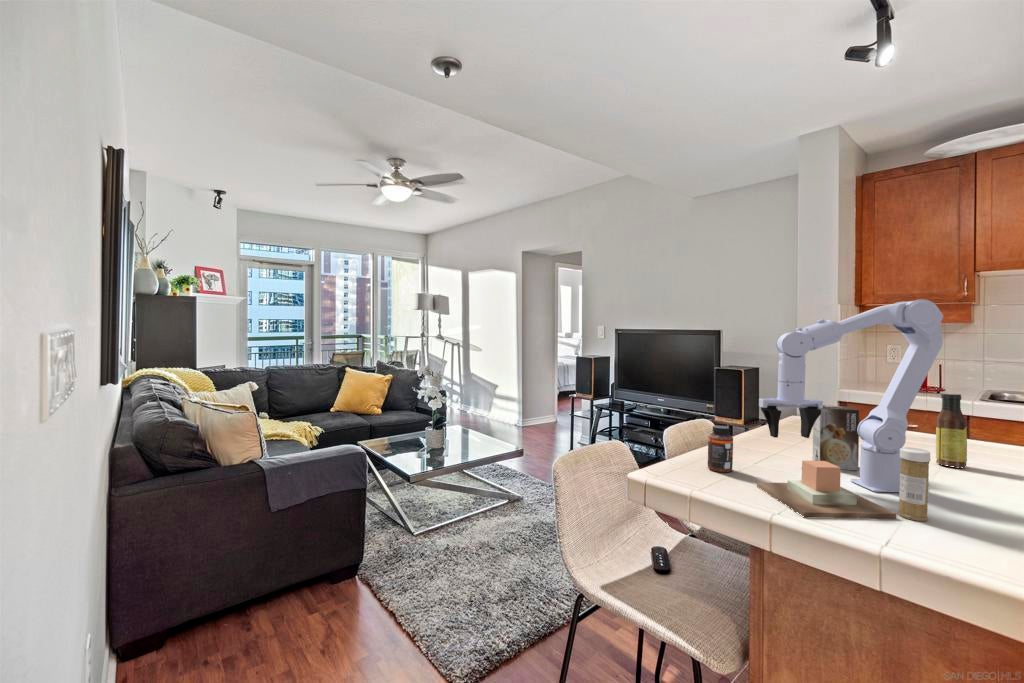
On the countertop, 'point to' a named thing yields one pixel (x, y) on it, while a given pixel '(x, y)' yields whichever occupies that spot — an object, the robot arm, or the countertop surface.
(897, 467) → the robot arm
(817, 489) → the terracotta cube
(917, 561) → the countertop surface
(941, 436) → the sauce bottle
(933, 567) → the countertop surface
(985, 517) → the countertop surface
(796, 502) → the walnut base board
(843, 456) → the coffee box
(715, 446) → the supplement bottle
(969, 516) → the countertop surface
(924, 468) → the sprinkles bottle
